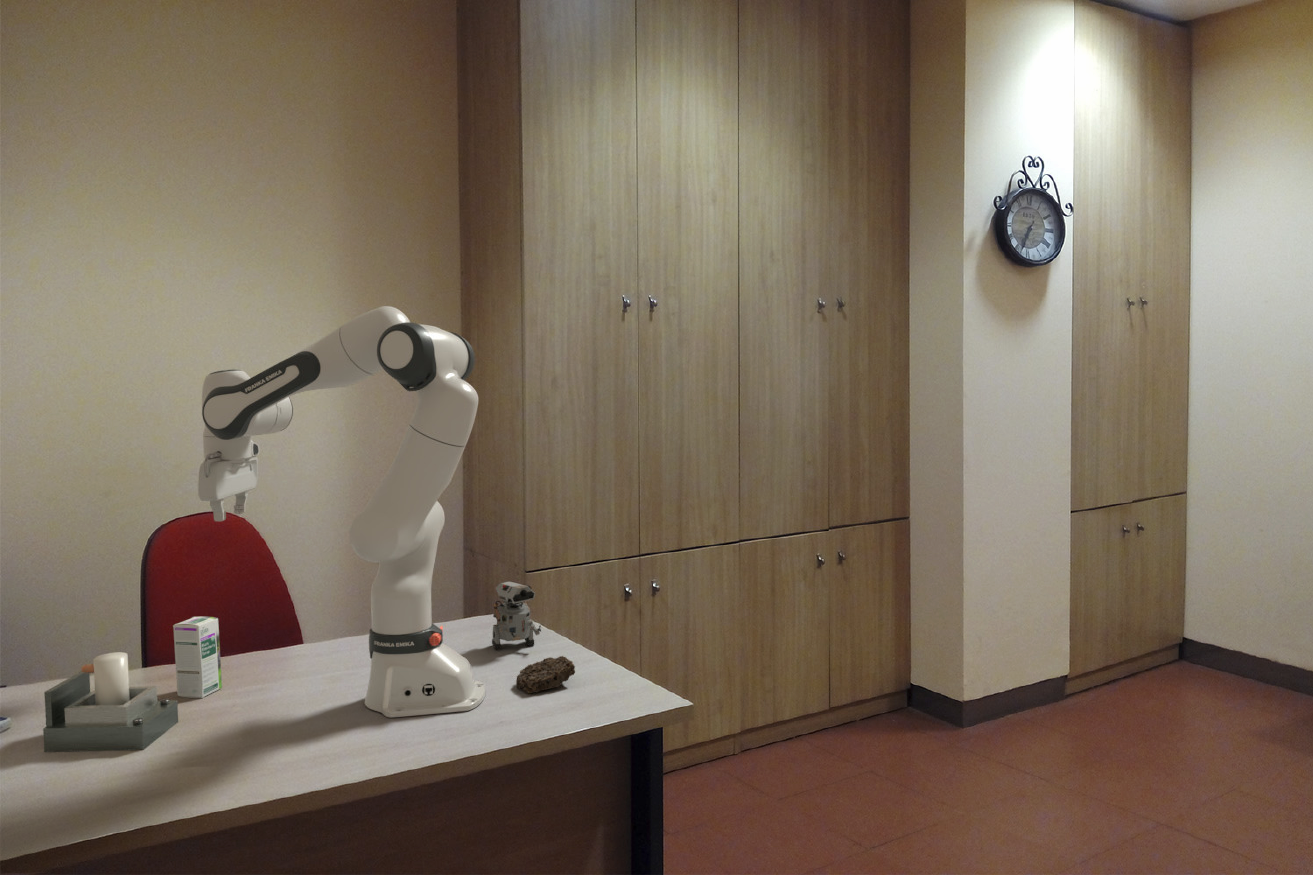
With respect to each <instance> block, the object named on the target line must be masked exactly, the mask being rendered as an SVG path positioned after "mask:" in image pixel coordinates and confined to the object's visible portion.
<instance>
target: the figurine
mask: <svg viewBox="0 0 1313 875" xmlns="http://www.w3.org/2000/svg"><path fill="white" fill-rule="evenodd" d="M495 591H496V593H497V596H498V597H499V600H501V601H503V603H502V602H501V601H499V600H496V601H495V603H494V604H493V613H492V614H493V618H495V619H496V624H493V625H492V639H491V644H492V647H493V648H494V649H495V651H496V650H497V651H499V650H501V649H502V643H501V640H503V641H506V642H514V641H515V642H517V641H521V640H522V641H523V640H524V641H525V643H526V644H527V645H528V646H529V647H533V646H535V639H534V635H535V636H539V635H540V632H542V626H541V625H539V626H538V628H537V627H536V625H535V624H534V621H533V619H531V608H530V607H529V606H528V603H527V602H528V601H531V600H535V597H536V592H535V591H534V590H532V587H531V586H530V585H524V584H520V583H517V582H514V581H513V582H512V581H504V582H500V583H499V584H498V585H496V587H495ZM498 602H499V603H500V604H499V603H498Z"/></svg>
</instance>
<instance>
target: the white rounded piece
mask: <svg viewBox="0 0 1313 875" xmlns="http://www.w3.org/2000/svg"><path fill="white" fill-rule="evenodd" d="M128 657H129V656H128V653H126V652H124V651H123V652H121V651H118V652H117V651H116V652H115V651H114V652H108V653H103V654H100V655H97V656H95V657H94V658H93V659H92V660H93V664H88V663H87V664H84V665H82V666H81V668H80V670H81V671H82V672H83V673H89V674H91V673H92V674H93V677H94V678H93V679H94V681H93V682H94V690H95V701H96V705H124V704H125V703H127V702H128V701H130V698H129V687H130V684H129V683H130V678H129V658H128ZM81 671H80V672H81Z"/></svg>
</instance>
